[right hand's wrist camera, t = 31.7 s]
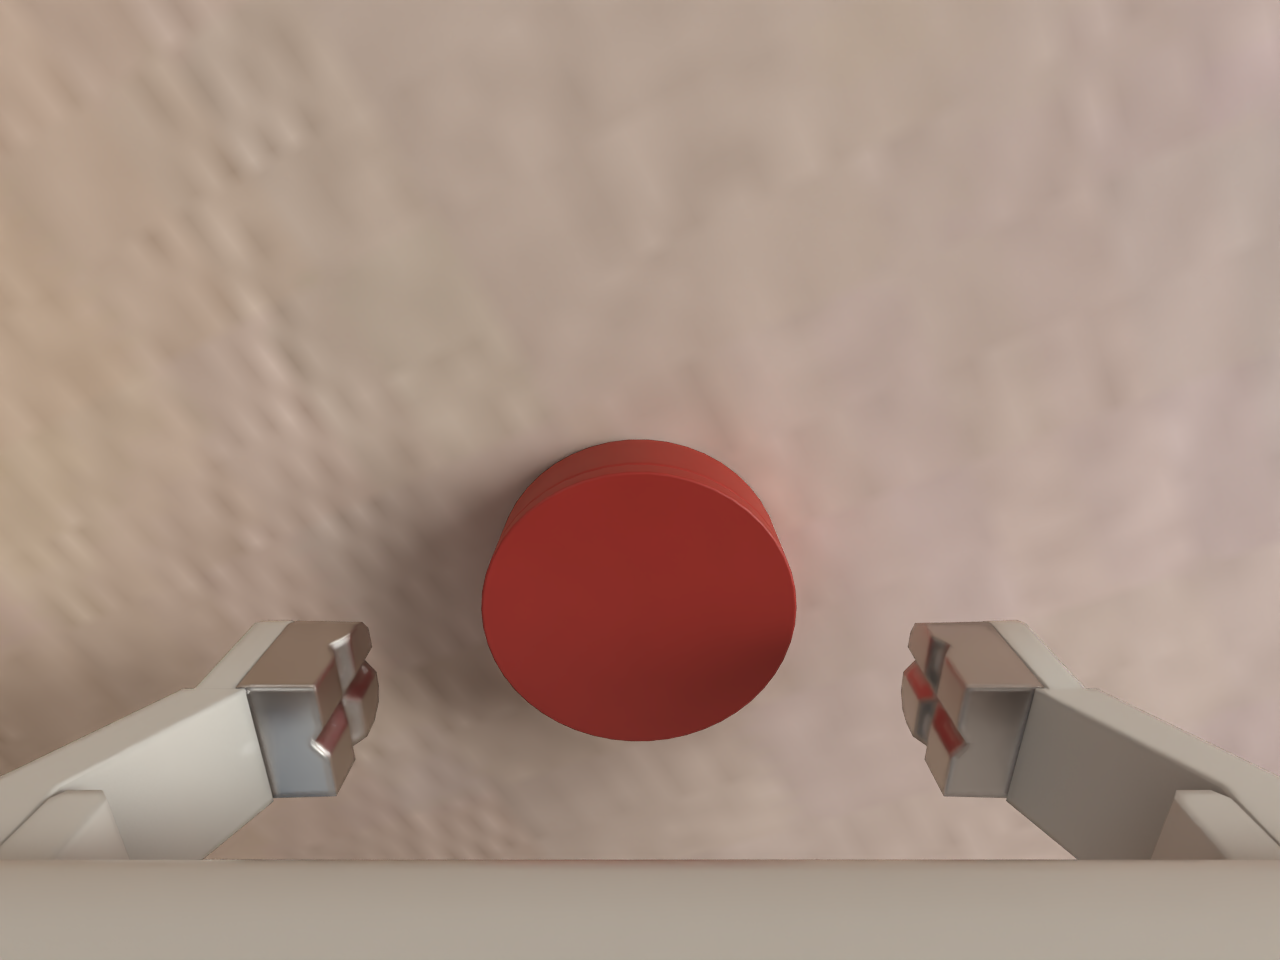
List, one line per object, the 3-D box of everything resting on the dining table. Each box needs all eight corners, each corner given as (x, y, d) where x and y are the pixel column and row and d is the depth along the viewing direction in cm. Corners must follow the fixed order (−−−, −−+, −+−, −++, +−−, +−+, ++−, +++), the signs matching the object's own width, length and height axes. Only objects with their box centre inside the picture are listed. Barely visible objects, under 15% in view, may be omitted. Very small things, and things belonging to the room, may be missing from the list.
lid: (567, 388, 11) (556, 416, 10) (831, 511, 12) (858, 554, 11) (459, 625, 13) (436, 678, 11) (697, 718, 14) (703, 779, 12)
